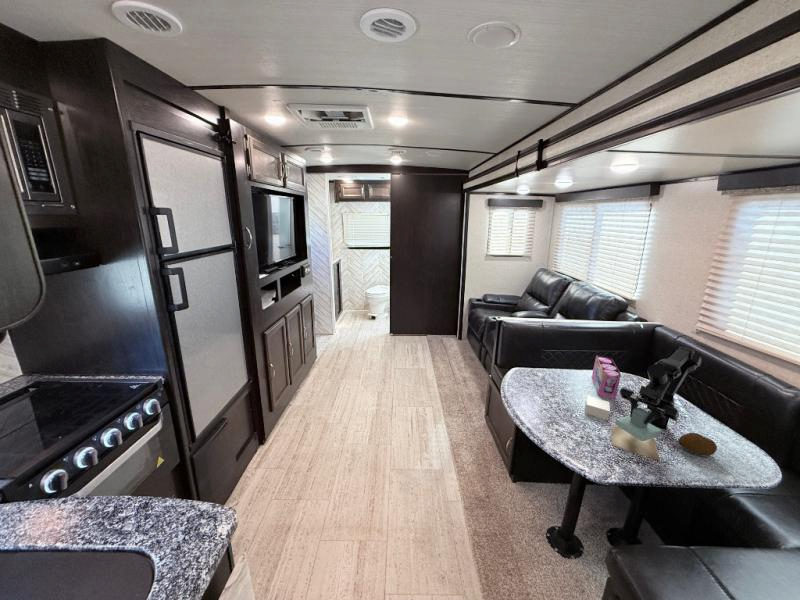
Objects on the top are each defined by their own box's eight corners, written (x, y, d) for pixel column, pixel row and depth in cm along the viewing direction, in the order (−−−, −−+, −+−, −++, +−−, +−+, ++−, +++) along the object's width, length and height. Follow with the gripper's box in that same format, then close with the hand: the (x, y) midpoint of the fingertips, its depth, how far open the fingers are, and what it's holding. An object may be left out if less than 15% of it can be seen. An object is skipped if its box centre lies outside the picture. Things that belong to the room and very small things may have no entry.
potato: (720, 461, 117) (726, 443, 116) (686, 459, 118) (692, 441, 116) (701, 446, 125) (706, 429, 123) (669, 444, 126) (674, 427, 124)
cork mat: (653, 439, 128) (654, 438, 128) (659, 461, 116) (660, 460, 116) (610, 425, 136) (610, 424, 136) (611, 445, 123) (612, 444, 123)
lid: (632, 419, 131) (636, 401, 129) (660, 435, 121) (665, 416, 119) (614, 424, 127) (619, 406, 125) (642, 441, 118) (647, 421, 116)
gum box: (616, 400, 156) (622, 376, 153) (598, 396, 159) (603, 372, 155) (607, 379, 177) (612, 357, 174) (591, 376, 180) (595, 354, 177)
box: (607, 410, 147) (609, 401, 146) (607, 420, 140) (609, 411, 139) (585, 404, 152) (587, 395, 150) (584, 413, 144) (586, 404, 143)
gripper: (626, 369, 129) (608, 400, 126) (684, 390, 114) (664, 426, 111) (631, 381, 135) (613, 411, 132) (686, 403, 120) (667, 437, 117)
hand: (637, 420), depth 123 cm, fingers closed on lid, 5 cm apart
